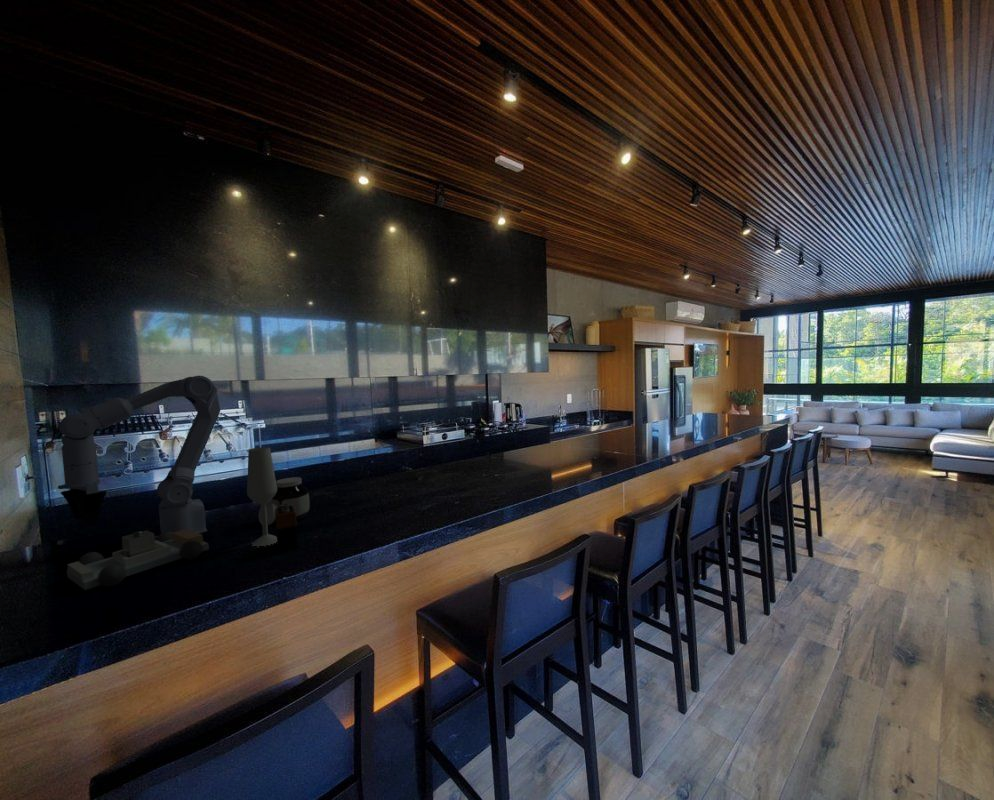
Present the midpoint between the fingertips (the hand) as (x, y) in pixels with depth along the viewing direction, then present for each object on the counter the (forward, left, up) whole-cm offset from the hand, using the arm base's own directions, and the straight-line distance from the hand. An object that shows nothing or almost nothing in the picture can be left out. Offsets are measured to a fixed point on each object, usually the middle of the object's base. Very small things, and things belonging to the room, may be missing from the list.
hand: (86, 520), depth 99 cm
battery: (-27, +38, -10) cm, 48 cm away
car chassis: (-5, +17, -9) cm, 20 cm away
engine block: (-5, +17, -7) cm, 19 cm away
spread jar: (-38, +18, -10) cm, 43 cm away
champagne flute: (-26, +30, -10) cm, 41 cm away
